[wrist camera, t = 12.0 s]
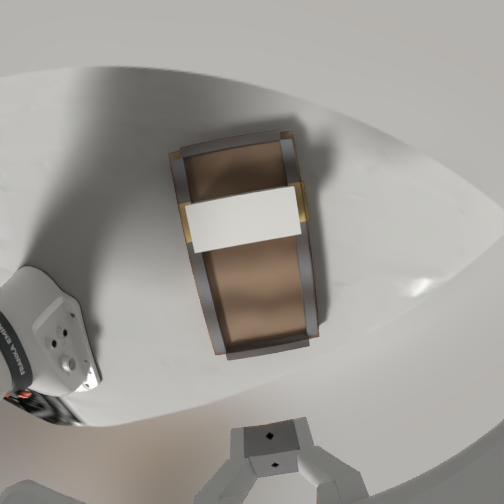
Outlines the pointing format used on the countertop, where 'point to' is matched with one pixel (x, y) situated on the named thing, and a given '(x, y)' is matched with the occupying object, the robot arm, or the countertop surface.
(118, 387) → the countertop surface
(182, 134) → the countertop surface
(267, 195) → the fader tab
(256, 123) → the countertop surface
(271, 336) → the wooden serving tray
